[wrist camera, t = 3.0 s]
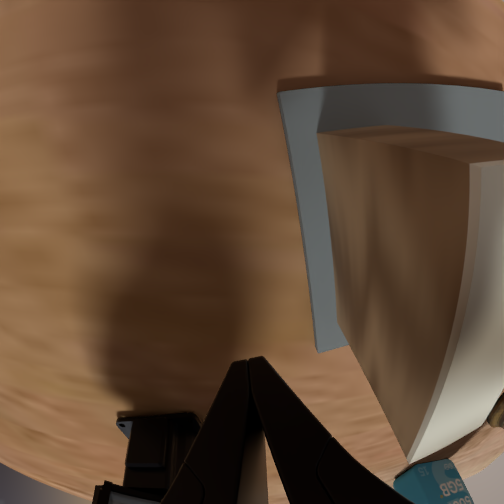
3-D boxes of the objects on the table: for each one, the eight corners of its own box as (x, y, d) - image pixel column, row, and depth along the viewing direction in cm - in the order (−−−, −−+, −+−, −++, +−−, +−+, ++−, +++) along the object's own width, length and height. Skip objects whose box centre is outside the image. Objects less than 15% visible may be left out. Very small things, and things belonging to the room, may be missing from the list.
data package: (450, 457, 33) (477, 508, 22) (432, 472, 34) (455, 522, 23) (411, 464, 30) (439, 528, 19) (389, 480, 31) (413, 542, 20)
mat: (493, 283, 18) (498, 287, 17) (315, 347, 18) (318, 353, 17) (501, 91, 12) (507, 92, 11) (276, 93, 12) (279, 92, 11)
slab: (392, 305, 16) (481, 425, 8) (337, 322, 16) (409, 464, 8) (386, 124, 12) (563, 158, 4) (316, 133, 12) (480, 166, 4)
